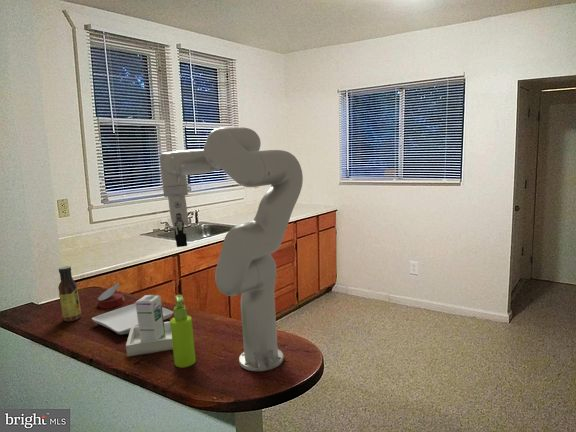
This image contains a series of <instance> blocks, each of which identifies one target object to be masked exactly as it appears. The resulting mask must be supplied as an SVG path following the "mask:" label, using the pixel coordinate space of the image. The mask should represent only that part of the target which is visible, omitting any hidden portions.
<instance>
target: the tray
mask: <svg viewBox="0 0 576 432" xmlns="http://www.w3.org/2000/svg"><path fill="white" fill-rule="evenodd" d="M164 328H165V335H166V337H165V338H164V339H157V340H151V341H144V342H141V340H140V333H139V326H134V327H131V329H130V333H129V334H128V337H127V341H126V342H125V350H126V351H125V352H126V356H127V357H133V356H139V355H146V354H153V353H159V352H165V351H171V350H172V351H173V343H172V333H171V324H170V321H164Z"/></svg>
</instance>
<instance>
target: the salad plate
mask: <svg viewBox="0 0 576 432" xmlns="http://www.w3.org/2000/svg"><path fill="white" fill-rule="evenodd" d="M162 312H163V320H164V321H165V320H167V319H168V318H170V317H172V315H174V310H170V309H168V308H165V307H163V306H162ZM91 320H92V321H93V322H94V323H96V324H98V325H100V326H103V327H105V328H106V329H109V330H111V331H113V332H115V333H116V334H117V335H122V336H123V335H129V333H130V329H131V327H134V326H138V318H137V311H136V303H135V302H134V303H132V304H129V305H126V306H123V307H120V308H116V309H114V310H113V309H112V310H111V311H108V312H105V313H102V314H99V315H96V316H94V317H92V318H91Z"/></svg>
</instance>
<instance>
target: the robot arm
mask: <svg viewBox="0 0 576 432" xmlns="http://www.w3.org/2000/svg"><path fill="white" fill-rule="evenodd" d="M261 145H262V144H261V138H260V136H259V135H258V133H257V132H256V131H255V130H254V129H251V128H249V127H234V126H233V127H229V126H228V127H217V128H214V129H213V130H211V132H210V133H208V136H207V138H206V141H205V143H204V145H203V148H202V149H201V148H200V149H183V150H174V151H168V152H167V151H166V152H162V153H161V154H160V155H159V162H160V165H159V166H160V173H161V179H162V189H163V197H164V198H167V201H168V206H169V207H168V209H169V215H170V220H171V223H172V227H173V228H174V236H175V237H174V239H175V242H176V243H175V245H176V247H177V248H183V247H187V246H188V242H187V241H188V240H187V239H188V238H187V233H186V229H185V226H186V227H189V217H188V206H187V199H186V196H188V195H189V189H188V180H187V179H188V178H187V176H190V175H200V174H207V173H212V172H215V171H219V170H222V171H223V172H224V173H226V174H227V175H228V176H229V177H230V178H231V179H232V180H233V181H235V182H236V183H237V184H238V185H240V186H242V187H245V188H256V187H264V186H269V185H270V188H269V189H268V190H267V192H266V193H265V194H264V195H263V197H262V198H261V200H260V202H259V204H258V207H257V211H256V214H255V216H254V217H253V219H252V220H250V221H248V222H244V223H239V224H236V225H234V226H233V227H231V228H230V229H229V231H227V233H226V235H225V236H224V239H223V242H222V246H221V250H220V252H219V257H218V260H217V263H216V268H215V277H214V278H215V279H214V281H215V283H216V287H217V289H218V290H219V292H221V294H223V295H224V296H227V297H235V296H238V295H241V296H240V315H241V317H240V318H241V329H242V342H243V352H242V353H241V354H240V355H239V357H238V362H239V366H240V367H241V368H243V369H245V370H247V371H251V372H266V371H271V370H274V369H275V368H277V367H279V366H280V365H282V363H283V362H284V353H283V352H282V351H281V349H279V348H278V335H277V319H276V315H277V314H276V298H275V290H276V289H275V288H276V286H275V285H276V279H277V263H276V261H275V259H274V257H273V256H272V254H274V253H275V252H277V251H278V250H279V249H280V247H281V245H282V242H283V239H284V236H285V234H286V231H287V227H288V225H289V222H290V219H291V216H292V213H293V210H294V209H295V205H296V203H297V201H298V199H299V197H300V195H301V191H302V189H303V188H302V187H303V181H304V176H303V170H302V167H301V163H300V162H299V160H298V159H297V157H296V156H295V155H294V154H292V153H291V152H289V151H286V150H282V149H281V150H280V149H269V150H268V149H267V150H260V149H261Z"/></svg>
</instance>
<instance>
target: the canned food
mask: <svg viewBox="0 0 576 432" xmlns="http://www.w3.org/2000/svg"><path fill="white" fill-rule="evenodd" d="M120 284H121V283H120V282H118V283H115V284H114V285H113V286H111V287H109V288H108V289H106V290H105V291H104V292H102V293H101V294H100V295H99V296H98V298H97V303H98V307H99V308H102V309H110V308H115V307H118V306H121V305H122V304H124V303H125V296H124V293H123V292H116V291H117V289H118V288H119V285H120Z"/></svg>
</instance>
